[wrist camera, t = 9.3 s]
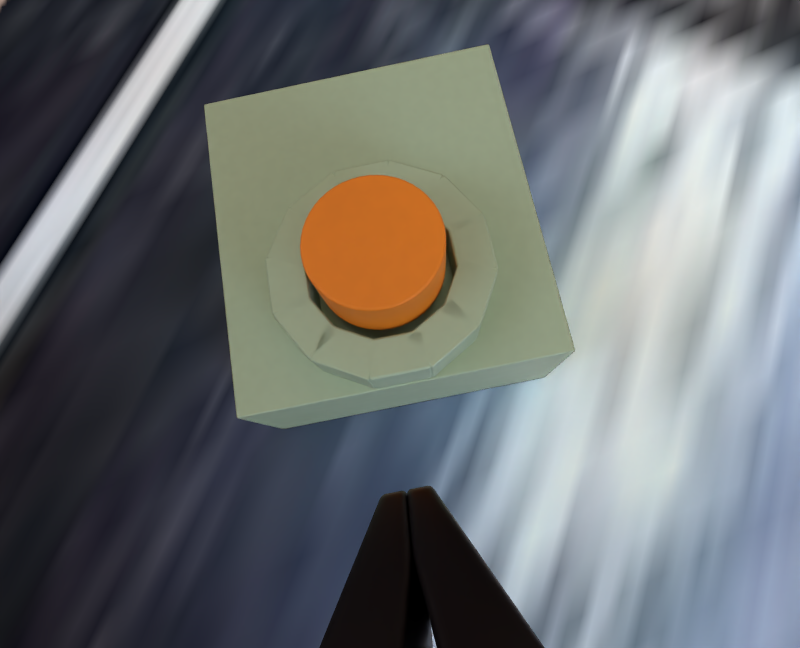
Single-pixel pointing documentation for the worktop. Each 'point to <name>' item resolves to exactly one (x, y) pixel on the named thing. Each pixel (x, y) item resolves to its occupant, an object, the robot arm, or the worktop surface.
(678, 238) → the worktop surface
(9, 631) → the worktop surface
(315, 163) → the button base
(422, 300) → the button
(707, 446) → the worktop surface
